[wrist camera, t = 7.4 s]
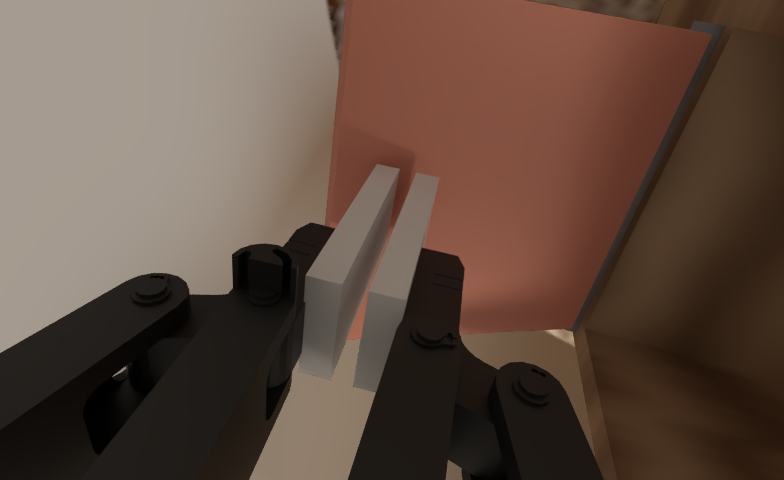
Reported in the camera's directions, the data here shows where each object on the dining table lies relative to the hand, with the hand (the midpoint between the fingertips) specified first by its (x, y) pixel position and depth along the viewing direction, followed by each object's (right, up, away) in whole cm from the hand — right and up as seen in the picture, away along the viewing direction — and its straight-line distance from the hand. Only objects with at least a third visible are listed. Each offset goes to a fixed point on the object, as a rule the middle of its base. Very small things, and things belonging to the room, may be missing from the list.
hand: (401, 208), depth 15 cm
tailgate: (+9, +1, +4) cm, 10 cm away
